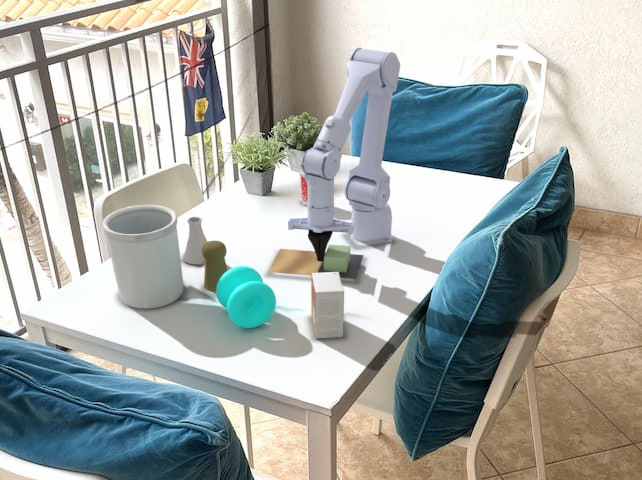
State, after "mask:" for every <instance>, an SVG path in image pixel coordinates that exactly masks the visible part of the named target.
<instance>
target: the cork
mask: <svg viewBox="0 0 642 480" xmlns="http://www.w3.org/2000/svg"><path fill="white" fill-rule="evenodd" d="M202 255H203V257H204V258H205V264H204V277H203V287H204V289H205V290H206V291H208V292H212V293H214V292H215V293H216V288H217V284H218V281H219V280H220V278H221V277H222V275H223V274H224V273H225V272H227V271H228V270H229V269H228V267H227V262H226V258H225V257H226V256H227V246H226V244H225V243H224V242H222V241H220V240H209V241H207V243H205V244H204V245H203V247H202Z"/></svg>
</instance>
